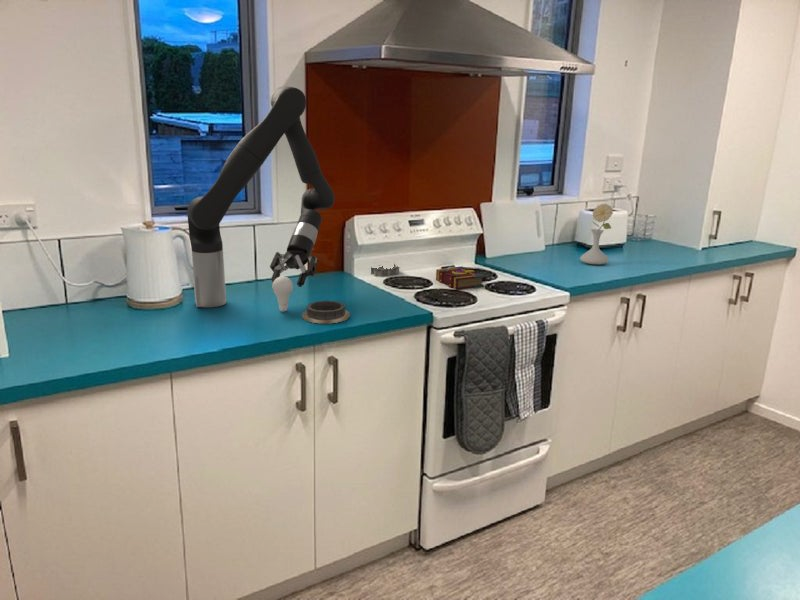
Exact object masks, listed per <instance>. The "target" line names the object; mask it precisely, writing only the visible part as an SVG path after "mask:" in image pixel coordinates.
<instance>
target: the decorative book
mask: <svg viewBox="0 0 800 600" xmlns="http://www.w3.org/2000/svg"><path fill="white" fill-rule="evenodd" d="M484 278H485V275H484V274H482V273H478V272H475V271H474V270H473V269H471V270H470V269H468V267H464V266H454V267H450V268H449V267H448V268H439V269H436V271H435V280H436V281H438V282H439V283H440V284H441V285H442V284H444V285H446V286H448V288H450V289H454V290H458V291H459V290H465V289H473V288H474V289H478V288H484V286H485V285H484V284H483V279H484Z"/></svg>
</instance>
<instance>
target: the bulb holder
mask: <svg viewBox="0 0 800 600" xmlns="http://www.w3.org/2000/svg"><path fill="white" fill-rule="evenodd" d="M350 316H351V315H350V312H349V311H348V310H346V305H345V304H344V303H343V302H339V301H335V300H318V301H313V302H311V303H309V304H308V305H307V306H306V310H305V311H303V312H302V320H303V319H304V321H305V320H306V321H308V322H307V323H309V322H312V323H311V324H314V323H318V324H317V325H333V324H332V323H336V324H339V323H338V322H341V323H343V322H342V321H344V322H345V320H346V321H348V320H349V319H350V318H349V317H350ZM348 318H349V319H348ZM347 319H348V320H347ZM306 321H305V322H306Z"/></svg>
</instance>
